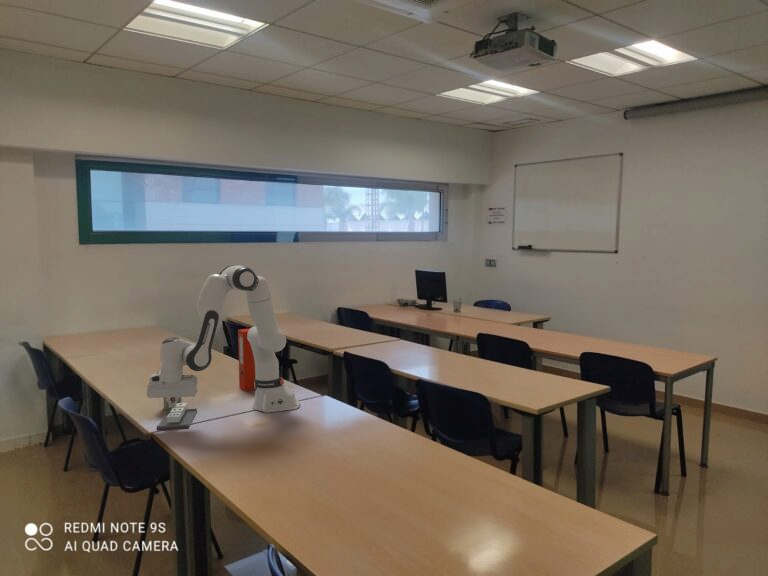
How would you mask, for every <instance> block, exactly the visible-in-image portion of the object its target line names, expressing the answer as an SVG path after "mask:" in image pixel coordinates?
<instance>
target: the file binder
mask: <svg viewBox="0 0 768 576" xmlns="http://www.w3.org/2000/svg"><path fill="white" fill-rule="evenodd" d="M249 330H250V328H243V329H238V330H237V342H238V344H237V345H238V346H237V347H238V377H239V378H238V379H239V380H238V383H239V386H238V387H239V389H241V390H242V391H244V392H248V391H251V390H252V391H253V390H254V391H255V385H254V381H255V378H256V376H255V360H254V356H253V352H252V348H251V345H250V343H249V341H248V338H247V334H248V331H249Z"/></svg>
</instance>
